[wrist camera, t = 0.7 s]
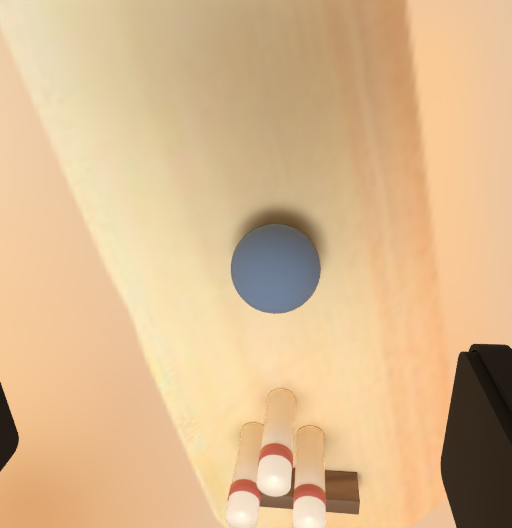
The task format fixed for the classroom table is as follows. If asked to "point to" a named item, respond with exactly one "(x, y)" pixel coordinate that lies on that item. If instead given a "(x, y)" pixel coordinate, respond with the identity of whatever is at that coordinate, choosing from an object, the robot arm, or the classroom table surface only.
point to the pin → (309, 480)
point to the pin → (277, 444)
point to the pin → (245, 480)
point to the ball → (275, 268)
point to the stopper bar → (336, 489)
